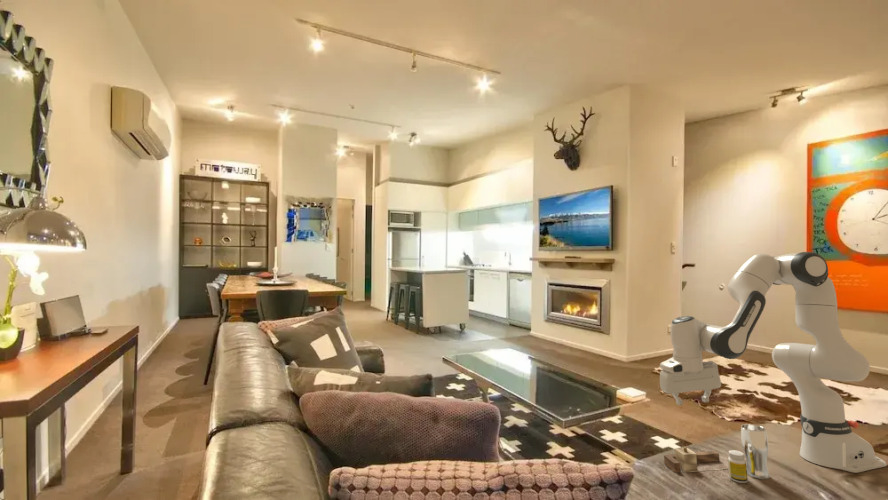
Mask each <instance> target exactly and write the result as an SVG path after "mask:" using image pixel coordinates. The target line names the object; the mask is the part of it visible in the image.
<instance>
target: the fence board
mask: <svg viewBox="0 0 888 500" xmlns="http://www.w3.org/2000/svg"><path fill="white" fill-rule="evenodd" d="M693 452H694V453H696V458H697V463H707V462H720V454H719V452H717V450H710V451H709V450H708V451H698V452H697V451H696V452H695V451H693ZM663 460H664V465H665V466H666V467H668V468H669V469H670V470H671V471H672V472H674V473H681V472H682V469H681V467H680V462H678V461H677V460H676V454H675V453H670V454H669V453H668V454H664V455H663ZM723 469H724V468H718V469H714V471H721V470H722V471H723ZM706 471H707V472H708V471H712V469H704V470H703V469H702V470H700V472H706ZM697 472H698V470H695V471H687V473H697Z"/></svg>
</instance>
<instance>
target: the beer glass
mask: <svg viewBox="0 0 888 500" xmlns="http://www.w3.org/2000/svg"><path fill="white" fill-rule="evenodd" d="M740 438H741V439H740V440H741V445H742V449H743V454H744V458H745V461H746V467H747V476H748V477H751V478H754V479H757V480H768V479H770V473H769V470H768V465H767V464H768V463H767V462H768V456H769V455H768V454H769V441H768V440H769V439H768V433H767V429H766V428H765V427H763V426H762V425H761V426H760V425H757V424H751V423H744V424H741V425H740Z"/></svg>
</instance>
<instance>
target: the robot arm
mask: <svg viewBox="0 0 888 500" xmlns="http://www.w3.org/2000/svg"><path fill="white" fill-rule="evenodd" d="M773 285H778V286H780V285H785V286H789V285H790V286H792V287H793V289H794V291H795V296H794V304H795V305H794V311H795V313H794V316H795V325H796V327H797V329H799V330H800V331H802V332H803V333H806V334H808V335H811V337H812V338H813V339H814V340H815V343H816V344H808V343H801V342H800V343H799V342H783V343H782V342H781V343H778V344H776V345H775V346H774V348H773V349H772V352H771V359H772V362H773V363H774V365H775V366H776V367H777V368H778V369H779V370H781V371H782V372H783V373H784V374H785V375H786V376H787V377H788V378H789V380H790V381H792V383H793V385H794V386H795V388H796V390H797V393H798V396H799V402H800V408H801V413H800V417H799V418H800V425H801V429H802V430H801V442H800V443H801V445H800V450H799V456H800V457H801V458H803V459H804V460H806V461H808V462H811V463H813V464H815V465H819V466H822V467H826V468H831V469H836V470H841V471H846V472H849V473H854V474H855V473H856V474H857V473H863V472H865V471H866V472H867V471H870V470H875V469H879V468H884V467H887V465H888V464H887V462H886V461H885V460H883V459H882V458H880V457H878V456H876V453H875V450H874V447H873V446H872V444H871V443H870V442H868V441H867V440H866V439H864V438H863V437H861V436H860V435H858V434H857V433H855V432H853V430H852V428H854V429H858V428H859V427H860V426H859V425H860V424H859V423H858V422H857V421H854V420H847V419H846V415H845V414H846V413H845V404H844V399H843V398H842V396H841V395H840V393H838V392H837V391H836V390H835V389H834V390H833V389H832V388H830V387H828V385H826V384H825V383H824V382H823V381H822V379H827V380H831V381H832V380H833V381H839V382H862V381H864V380H865V379H866V378H868V376H869V374H870V372H871V366H870V362H869V360H868V359H867V358H866V356H865V355H864V354H863V353H861V352H860V351H858V350H857V349H856V348H854V347H853V346H852V345H851V344H850V343H849V342H848V341H847V340H846V339H845V337H844V335H843V334H842V331H841V328H840V322H839V317H838V316H839V315H838V314H839V313H838V299H837V292H836V288H835V285H834V282H833V280H832V279H831V278H830V277H829V267H828V263H827V261H826V260H825V258H824V257H823V256H822V255H821V254H819V253H815V252H812V251H811V252H810V251H802V252H792V253H785V254H783V255H782V254H781V255H778V256H771V255H770V254H766V253H755V254H754V255H752V256H750V257H749V258H748V259H747V260H746V261H744V262H743V263H742V265H740V267H739V268H738V269H737V270H736V272H735V273H733V275H732V276H731V278H730V279H729V282H728V284H727V291H728V293H729V295H730V296H731V298H733V300H734V301H735V302H737V303H739V308H738V310H737V312H736V313H735V315H734V317H733V318H732V320H731V322H730V323H729V324H728V325H725V326H720V325H715V324H711V323H707V322H704V321H701V320H698V319H696V317H694V316H690V315H686V316H679V317H676V318H674V319H673V320H672V321H671V324H670V340H671V341H670V342H671V346H672V349H673V351H672V357H670V358H667V360H664V361H661V362H660V364H659V368H660V369H661V370H660V371H659V372H660V373H659V386H660V387H659V388H660V389H661V391H662V392H664V393H666V394H671V396H672V397H674V399H675V403H676V405H678V406H683V405H684V400H683V399H681V398H680V397H679V396H680V393H687V392H696V391H698V392H699V391H704V393H703V395H701V397H700V398H701V401H702V402H704V403H709V402H710V398H709V397H710V396H711V394H712V390H715V389H720V388H721V386H722V380H721V377H720V373H719V367H718V364H717V363H716V361H715V362H714V361H713V360H708V361H703V354H702V352H708V353H711V354H714V355H717V356H719V357H722V358H723V359H726V360H734V359H735V360H736V359H737V358H740V357H741V356H742V355H743V354H745V351H746V349H747V347H748V342H749V339H750V336H751V334H752V333H753V330H754V329H755V326H756V325H757V324H758V321H759V319H760V317H761V315H762V313H763V311H764V309H765V307H766V302H767V301H766V297H765V296H766V295H767V292H768V291H769V290H770V288H772V286H773Z"/></svg>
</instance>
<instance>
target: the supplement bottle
mask: <svg viewBox="0 0 888 500" xmlns="http://www.w3.org/2000/svg"><path fill="white" fill-rule="evenodd" d="M727 462H728V463H727V464H728V473H729V474H728V476H729V478H730V480H731V481H734V482H736V483H738V484H739V483H740V484H745V483H748V474H747V467H746V466H747V462H746V459H745V453H744V452H742V451H740V450H735V449H730V450H729V451H728V458H727Z"/></svg>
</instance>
